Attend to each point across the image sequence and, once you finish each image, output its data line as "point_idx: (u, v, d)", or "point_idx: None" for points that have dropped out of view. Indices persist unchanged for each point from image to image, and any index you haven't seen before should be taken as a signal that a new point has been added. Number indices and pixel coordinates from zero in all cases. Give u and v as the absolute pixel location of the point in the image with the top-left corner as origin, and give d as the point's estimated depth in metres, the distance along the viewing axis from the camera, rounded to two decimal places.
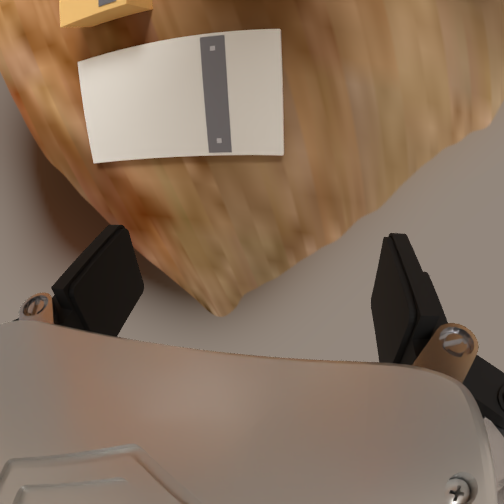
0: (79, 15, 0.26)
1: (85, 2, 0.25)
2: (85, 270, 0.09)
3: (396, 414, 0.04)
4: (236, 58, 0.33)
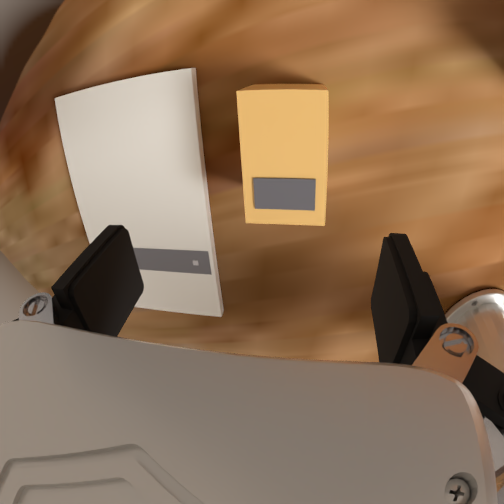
0: (247, 136, 0.21)
1: (270, 151, 0.21)
2: (85, 270, 0.09)
3: (396, 414, 0.04)
4: (186, 281, 0.37)
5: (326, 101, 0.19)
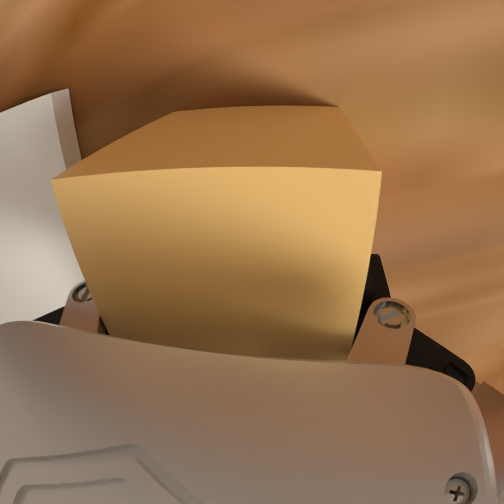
0: (112, 307, 0.07)
1: (181, 346, 0.07)
2: None
3: (396, 414, 0.04)
4: None
5: (368, 216, 0.05)
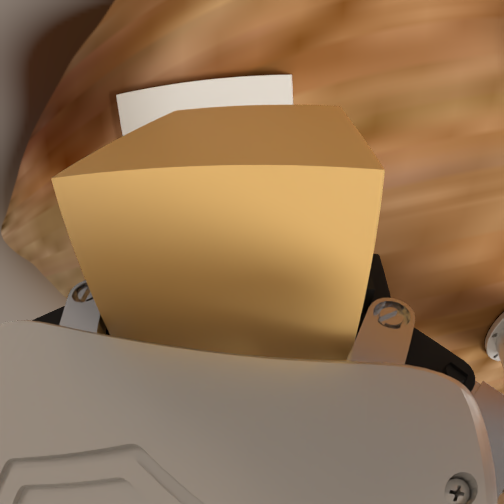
0: (113, 306, 0.07)
1: (181, 346, 0.07)
2: None
3: (396, 414, 0.04)
4: None
5: (371, 215, 0.05)
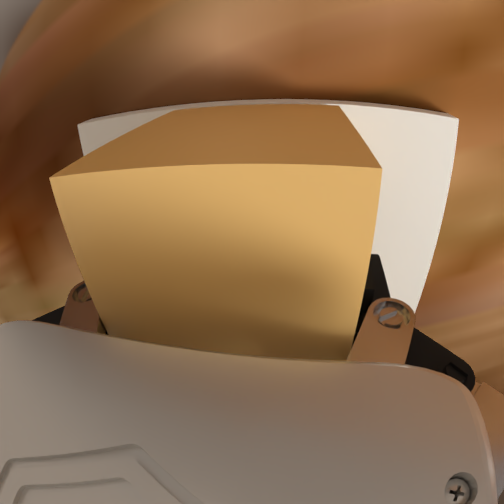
0: (111, 306, 0.07)
1: (179, 345, 0.07)
2: None
3: (396, 414, 0.04)
4: None
5: (369, 214, 0.05)
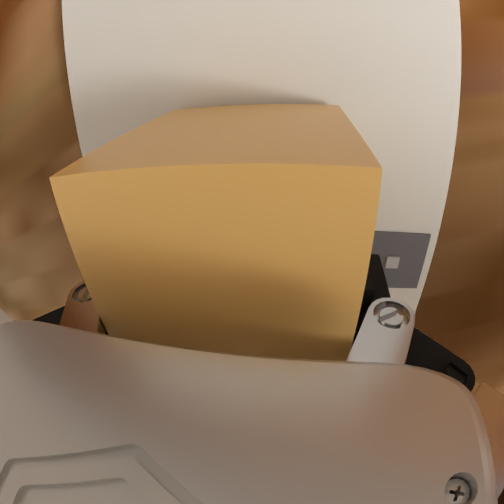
0: (111, 306, 0.07)
1: (179, 345, 0.07)
2: None
3: (396, 414, 0.04)
4: None
5: (369, 214, 0.05)
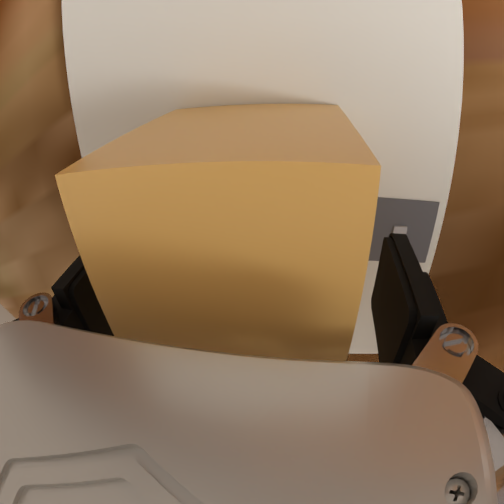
0: (115, 302, 0.07)
1: (182, 340, 0.08)
2: (85, 270, 0.09)
3: (396, 414, 0.04)
4: None
5: (368, 210, 0.05)
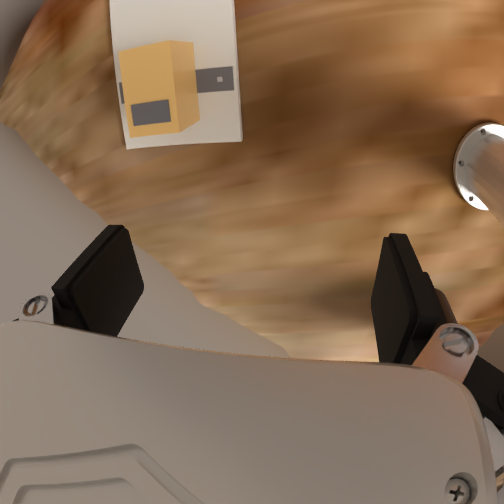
0: (125, 78, 0.28)
1: (139, 85, 0.29)
2: (85, 270, 0.09)
3: (396, 414, 0.04)
4: (209, 102, 0.36)
5: (169, 47, 0.26)
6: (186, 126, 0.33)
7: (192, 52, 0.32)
